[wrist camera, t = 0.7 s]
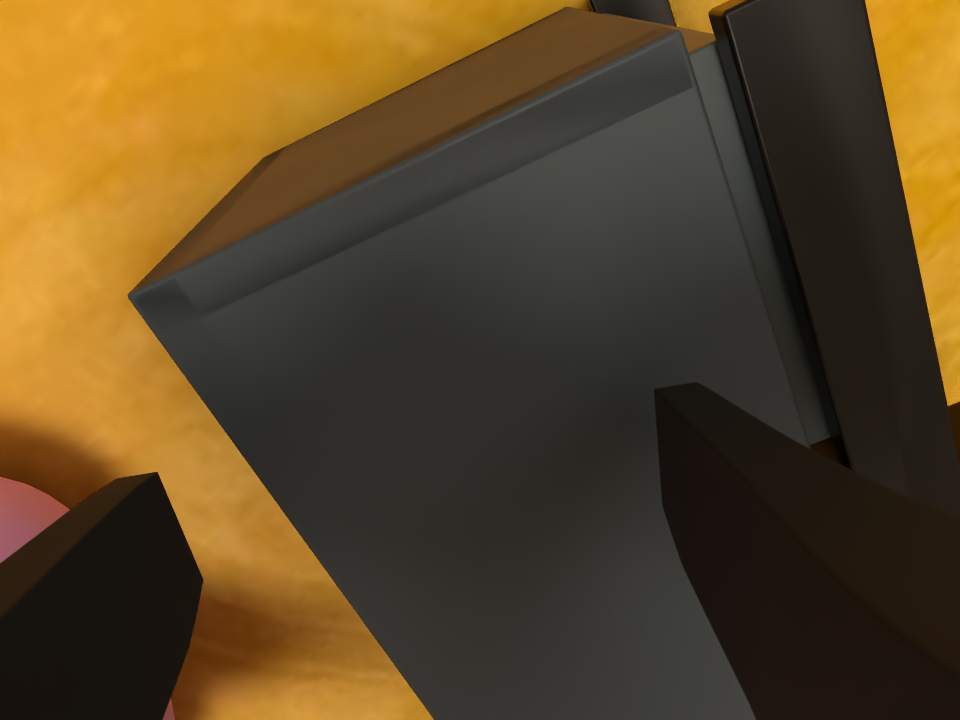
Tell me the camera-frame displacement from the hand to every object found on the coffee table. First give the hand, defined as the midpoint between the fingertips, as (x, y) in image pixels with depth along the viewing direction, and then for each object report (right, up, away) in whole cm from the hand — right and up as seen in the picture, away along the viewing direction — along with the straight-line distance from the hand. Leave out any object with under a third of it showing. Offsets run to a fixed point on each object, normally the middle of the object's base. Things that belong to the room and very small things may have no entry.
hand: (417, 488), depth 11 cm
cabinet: (+2, +3, +10) cm, 10 cm away
